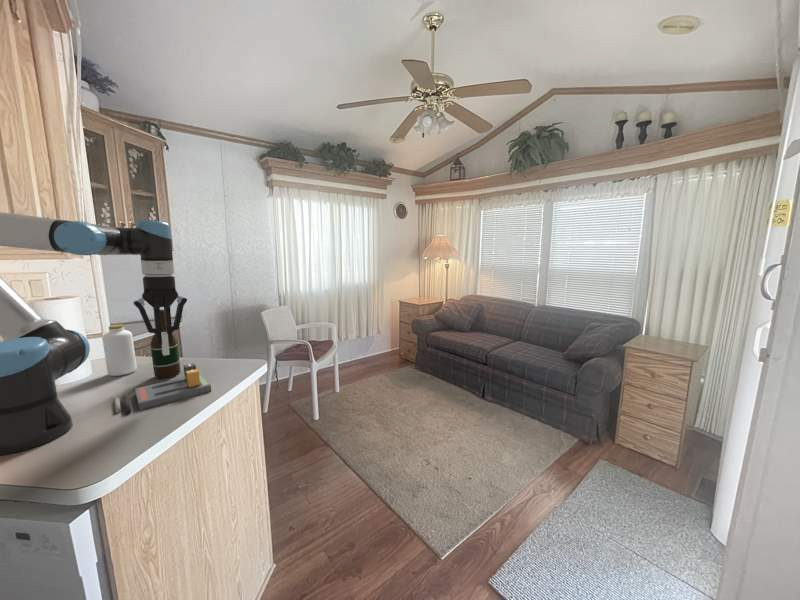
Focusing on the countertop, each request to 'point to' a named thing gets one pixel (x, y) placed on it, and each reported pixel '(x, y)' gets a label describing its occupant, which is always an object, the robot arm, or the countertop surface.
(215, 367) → the countertop surface
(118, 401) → the cord grey near
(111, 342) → the white plastic bottle
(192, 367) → the block
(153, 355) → the beer bottle
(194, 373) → the block
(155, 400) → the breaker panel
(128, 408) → the cord black near
